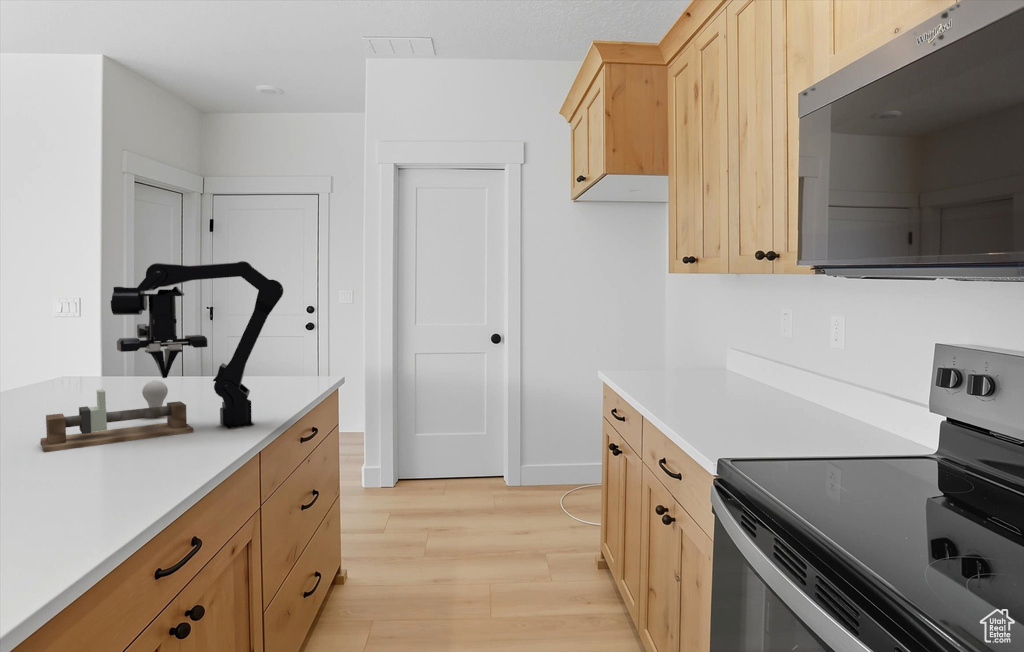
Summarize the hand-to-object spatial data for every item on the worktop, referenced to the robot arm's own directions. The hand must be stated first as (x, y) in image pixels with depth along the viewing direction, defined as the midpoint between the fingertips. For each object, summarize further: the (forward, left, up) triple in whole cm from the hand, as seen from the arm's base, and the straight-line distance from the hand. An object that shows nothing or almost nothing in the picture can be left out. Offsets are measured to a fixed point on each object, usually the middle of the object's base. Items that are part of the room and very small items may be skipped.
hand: (164, 377), depth 150 cm
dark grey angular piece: (+17, +2, -10) cm, 20 cm away
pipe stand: (+10, +2, -13) cm, 16 cm away
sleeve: (+14, +2, -10) cm, 18 cm away
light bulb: (-1, -17, -13) cm, 22 cm away
